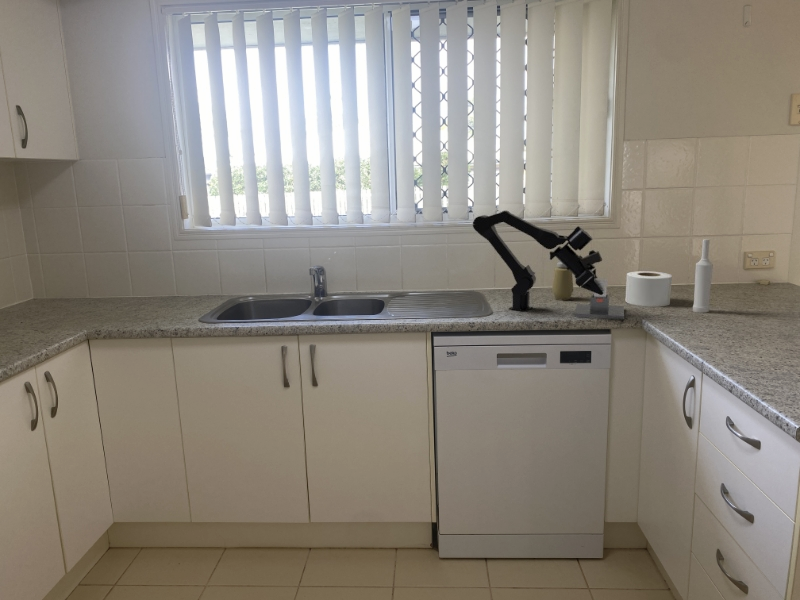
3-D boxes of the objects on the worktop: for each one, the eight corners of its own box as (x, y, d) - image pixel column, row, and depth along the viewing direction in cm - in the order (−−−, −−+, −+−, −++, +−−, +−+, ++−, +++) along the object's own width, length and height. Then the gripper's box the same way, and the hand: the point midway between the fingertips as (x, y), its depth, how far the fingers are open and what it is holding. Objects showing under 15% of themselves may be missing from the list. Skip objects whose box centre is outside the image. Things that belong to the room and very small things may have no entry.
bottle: (711, 313, 198) (717, 240, 193) (694, 312, 199) (700, 240, 194) (706, 309, 203) (712, 238, 198) (690, 309, 204) (695, 238, 199)
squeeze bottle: (568, 301, 222) (569, 255, 219) (548, 299, 227) (549, 254, 223) (576, 298, 229) (577, 252, 225) (556, 296, 233) (557, 251, 230)
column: (593, 310, 202) (594, 280, 199) (593, 307, 205) (594, 278, 203) (605, 310, 200) (606, 280, 198) (605, 308, 204) (607, 278, 202)
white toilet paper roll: (679, 303, 214) (681, 274, 212) (649, 308, 208) (650, 279, 205) (645, 296, 228) (647, 269, 226) (616, 301, 221) (617, 273, 219)
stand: (573, 316, 198) (574, 299, 197) (577, 307, 213) (577, 291, 212) (623, 319, 193) (624, 301, 192) (623, 309, 208) (624, 292, 206)
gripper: (586, 246, 191) (621, 280, 189) (589, 240, 208) (620, 271, 207) (561, 269, 195) (595, 303, 194) (566, 262, 212) (596, 292, 211)
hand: (602, 291), depth 201 cm, fingers open, 9 cm apart
